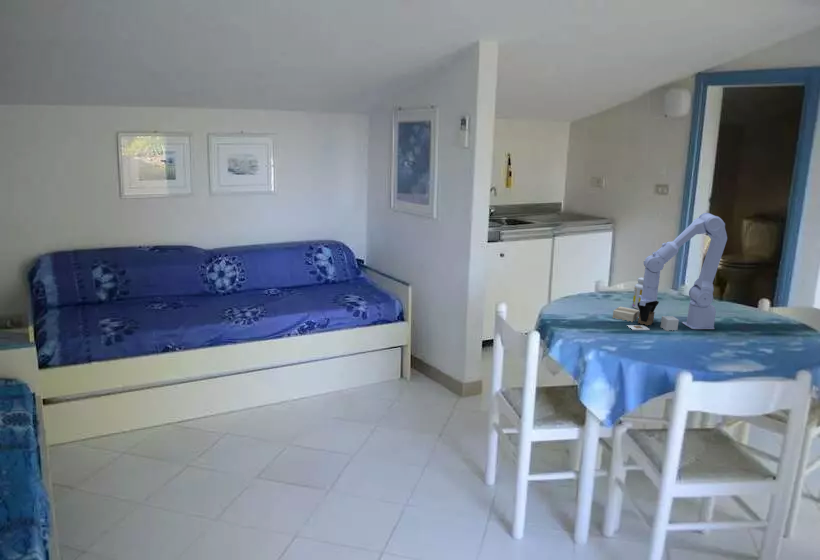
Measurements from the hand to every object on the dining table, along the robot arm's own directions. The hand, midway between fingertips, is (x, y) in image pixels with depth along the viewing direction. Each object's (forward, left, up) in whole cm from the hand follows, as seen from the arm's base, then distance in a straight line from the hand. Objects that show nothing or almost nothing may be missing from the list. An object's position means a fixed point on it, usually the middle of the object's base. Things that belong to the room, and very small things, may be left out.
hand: (645, 319), depth 259 cm
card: (+6, +6, -1) cm, 9 cm away
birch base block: (+5, -7, -2) cm, 9 cm away
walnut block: (0, 0, -1) cm, 1 cm away
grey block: (-6, +7, -2) cm, 9 cm away
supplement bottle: (-8, -21, -2) cm, 23 cm away
